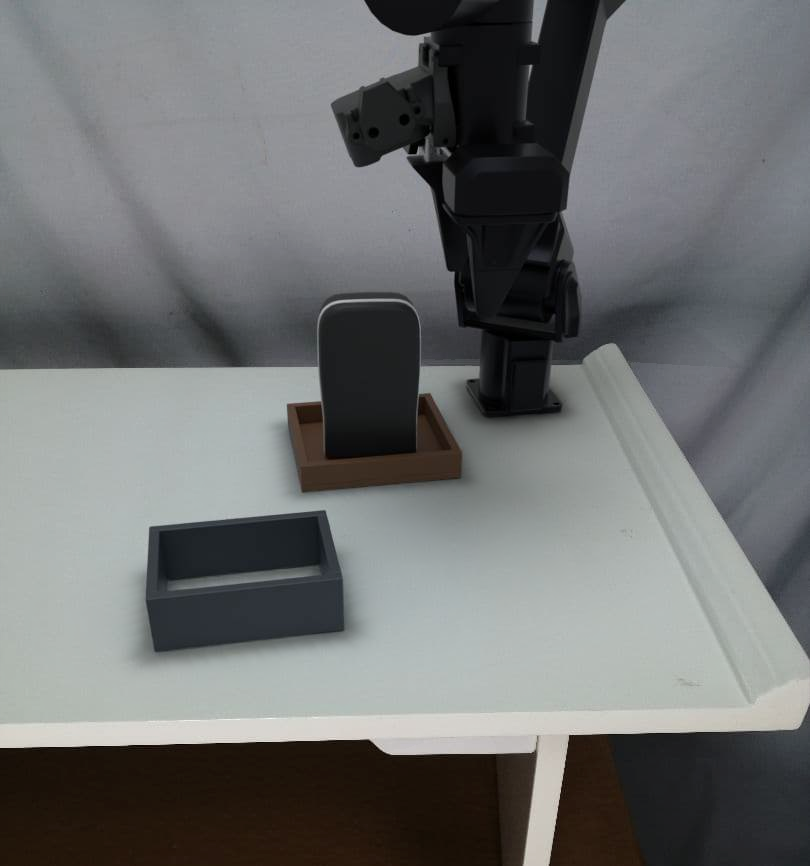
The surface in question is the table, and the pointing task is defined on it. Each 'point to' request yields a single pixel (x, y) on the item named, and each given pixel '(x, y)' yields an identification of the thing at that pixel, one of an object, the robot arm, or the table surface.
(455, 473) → the tray
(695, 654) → the table surface
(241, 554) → the dock
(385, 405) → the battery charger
